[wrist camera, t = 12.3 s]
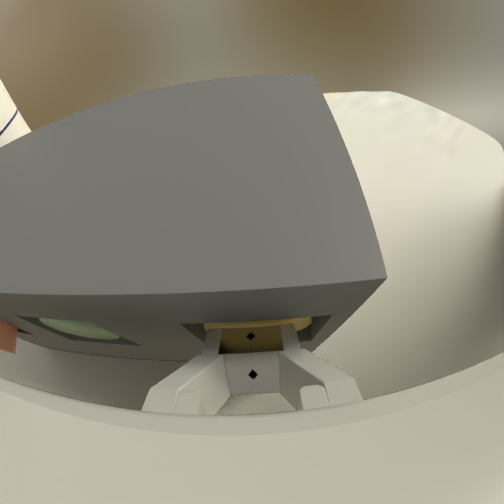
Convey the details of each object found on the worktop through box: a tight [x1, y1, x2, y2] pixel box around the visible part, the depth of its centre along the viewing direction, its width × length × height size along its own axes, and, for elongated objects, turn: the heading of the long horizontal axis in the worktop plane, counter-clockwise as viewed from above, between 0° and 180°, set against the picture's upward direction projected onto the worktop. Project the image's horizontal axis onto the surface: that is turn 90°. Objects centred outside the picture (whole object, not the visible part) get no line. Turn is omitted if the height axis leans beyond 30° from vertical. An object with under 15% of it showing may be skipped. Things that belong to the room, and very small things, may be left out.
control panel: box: [0, 74, 387, 361], centre depth 14 cm, size 22×9×14 cm, turn 92°
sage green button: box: [39, 318, 120, 340], centre depth 11 cm, size 4×3×4 cm
